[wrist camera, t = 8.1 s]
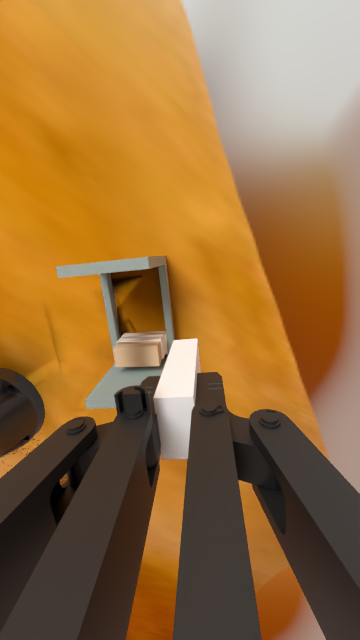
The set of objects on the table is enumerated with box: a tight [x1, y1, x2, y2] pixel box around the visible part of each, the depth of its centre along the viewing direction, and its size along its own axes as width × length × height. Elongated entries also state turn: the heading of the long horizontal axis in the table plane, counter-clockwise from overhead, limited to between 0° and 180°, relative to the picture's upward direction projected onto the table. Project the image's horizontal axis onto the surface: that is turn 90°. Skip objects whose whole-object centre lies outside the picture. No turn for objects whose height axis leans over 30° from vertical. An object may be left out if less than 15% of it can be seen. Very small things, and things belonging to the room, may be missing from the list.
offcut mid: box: [116, 334, 166, 359], centre depth 39 cm, size 7×3×2 cm, turn 95°
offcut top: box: [113, 341, 162, 367], centre depth 37 cm, size 6×3×2 cm, turn 94°
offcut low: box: [121, 331, 168, 354], centre depth 41 cm, size 7×3×2 cm, turn 93°
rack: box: [56, 256, 175, 409], centre depth 35 cm, size 10×17×13 cm, turn 6°
